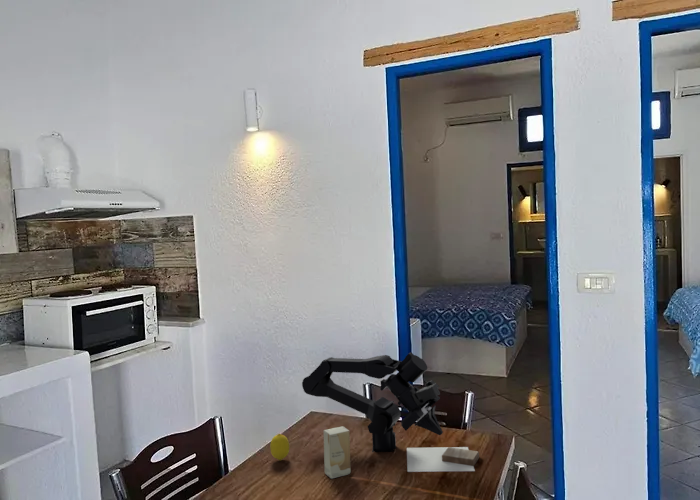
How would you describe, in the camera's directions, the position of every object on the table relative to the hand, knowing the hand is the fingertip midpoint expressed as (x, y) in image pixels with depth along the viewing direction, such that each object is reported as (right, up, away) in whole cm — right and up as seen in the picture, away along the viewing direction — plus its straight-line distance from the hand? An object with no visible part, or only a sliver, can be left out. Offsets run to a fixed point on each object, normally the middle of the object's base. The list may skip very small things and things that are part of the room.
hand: (441, 434), depth 163 cm
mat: (-1, -7, -1) cm, 7 cm away
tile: (+1, -6, 0) cm, 6 cm away
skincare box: (-29, -9, -6) cm, 31 cm away
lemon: (-47, -9, +5) cm, 48 cm away
